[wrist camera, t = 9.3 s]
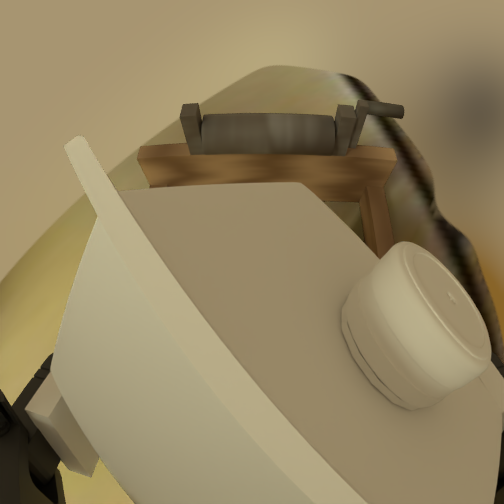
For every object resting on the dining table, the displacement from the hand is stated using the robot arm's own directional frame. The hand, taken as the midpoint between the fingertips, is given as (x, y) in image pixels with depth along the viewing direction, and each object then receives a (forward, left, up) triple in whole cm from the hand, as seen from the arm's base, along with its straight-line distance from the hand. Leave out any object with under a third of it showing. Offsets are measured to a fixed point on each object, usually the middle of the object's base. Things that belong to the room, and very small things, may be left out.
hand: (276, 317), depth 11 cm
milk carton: (0, -3, -10) cm, 10 cm away
